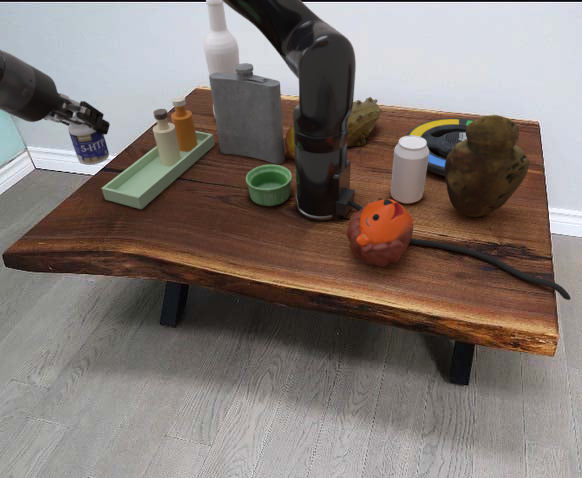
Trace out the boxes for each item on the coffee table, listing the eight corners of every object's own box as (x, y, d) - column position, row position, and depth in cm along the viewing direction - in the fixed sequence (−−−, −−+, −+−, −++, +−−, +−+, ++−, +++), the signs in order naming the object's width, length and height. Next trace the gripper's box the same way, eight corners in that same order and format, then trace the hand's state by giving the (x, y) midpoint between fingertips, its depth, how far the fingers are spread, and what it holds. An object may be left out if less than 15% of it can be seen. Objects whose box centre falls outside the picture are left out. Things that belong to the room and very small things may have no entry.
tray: (214, 145, 117) (213, 134, 115) (141, 209, 98) (138, 197, 97) (182, 138, 120) (180, 127, 119) (105, 199, 102) (101, 188, 100)
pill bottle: (86, 169, 86) (69, 121, 80) (73, 158, 89) (57, 111, 83) (115, 158, 88) (101, 110, 83) (102, 147, 91) (87, 101, 86)
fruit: (304, 142, 116) (303, 110, 111) (336, 154, 111) (337, 120, 106) (277, 160, 110) (275, 127, 105) (310, 173, 106) (309, 139, 101)
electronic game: (411, 125, 120) (413, 106, 117) (514, 137, 113) (519, 117, 110) (394, 176, 103) (396, 155, 100) (513, 192, 97) (519, 171, 94)
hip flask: (217, 152, 114) (204, 65, 102) (226, 144, 117) (214, 58, 104) (281, 165, 109) (274, 74, 96) (288, 156, 112) (283, 66, 99)
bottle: (246, 109, 131) (232, -17, 112) (246, 124, 125) (231, -7, 105) (215, 112, 131) (196, -14, 112) (213, 126, 124) (192, -5, 105)
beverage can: (427, 193, 98) (435, 138, 90) (414, 210, 94) (422, 153, 87) (398, 184, 101) (403, 130, 93) (384, 200, 97) (389, 145, 89)
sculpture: (434, 222, 91) (451, 120, 78) (440, 196, 97) (457, 98, 84) (512, 235, 87) (544, 130, 75) (513, 207, 93) (543, 106, 81)
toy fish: (406, 282, 80) (414, 226, 72) (340, 273, 82) (342, 217, 75) (411, 235, 88) (419, 181, 81) (352, 228, 91) (354, 174, 84)
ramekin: (273, 213, 95) (272, 194, 93) (238, 198, 100) (235, 180, 97) (301, 191, 101) (301, 172, 98) (267, 178, 105) (265, 159, 102)
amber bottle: (201, 143, 116) (193, 96, 109) (190, 153, 113) (181, 104, 106) (185, 140, 118) (175, 93, 110) (173, 149, 115) (163, 101, 107)
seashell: (385, 131, 121) (388, 89, 115) (365, 154, 110) (367, 109, 105) (342, 124, 125) (343, 84, 120) (318, 146, 114) (319, 102, 109)
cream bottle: (185, 157, 112) (175, 108, 104) (173, 167, 109) (162, 118, 101) (168, 153, 113) (157, 105, 106) (156, 163, 110) (144, 114, 103)
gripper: (59, 65, 69) (133, 111, 85) (-18, 55, 73) (66, 100, 89) (44, 118, 68) (121, 154, 84) (-32, 104, 73) (54, 141, 89)
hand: (92, 126), depth 87 cm, fingers closed on pill bottle, 5 cm apart
